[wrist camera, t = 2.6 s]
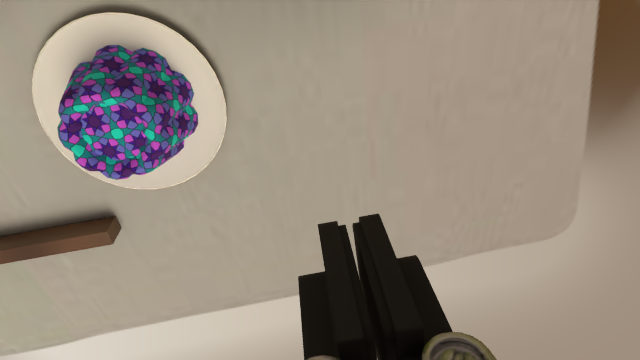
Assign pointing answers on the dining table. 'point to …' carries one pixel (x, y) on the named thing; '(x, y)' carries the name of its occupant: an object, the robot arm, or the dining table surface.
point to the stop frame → (58, 239)
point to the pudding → (129, 100)
